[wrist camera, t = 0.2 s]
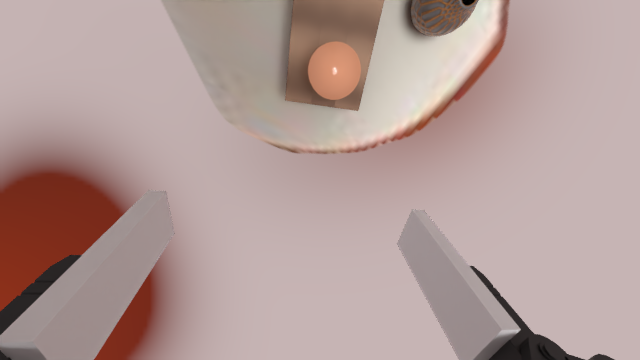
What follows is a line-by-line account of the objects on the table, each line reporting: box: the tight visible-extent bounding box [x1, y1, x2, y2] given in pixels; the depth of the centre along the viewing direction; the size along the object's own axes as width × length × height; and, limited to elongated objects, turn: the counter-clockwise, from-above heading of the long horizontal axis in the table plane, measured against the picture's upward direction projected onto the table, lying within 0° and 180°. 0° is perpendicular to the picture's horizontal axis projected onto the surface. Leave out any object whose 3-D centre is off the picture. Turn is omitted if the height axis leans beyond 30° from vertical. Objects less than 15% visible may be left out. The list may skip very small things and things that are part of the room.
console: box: [285, 0, 384, 111], centre depth 28 cm, size 20×10×6 cm, turn 171°
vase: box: [411, 0, 478, 36], centre depth 28 cm, size 7×7×9 cm
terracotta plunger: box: [308, 41, 361, 100], centre depth 27 cm, size 6×6×6 cm
